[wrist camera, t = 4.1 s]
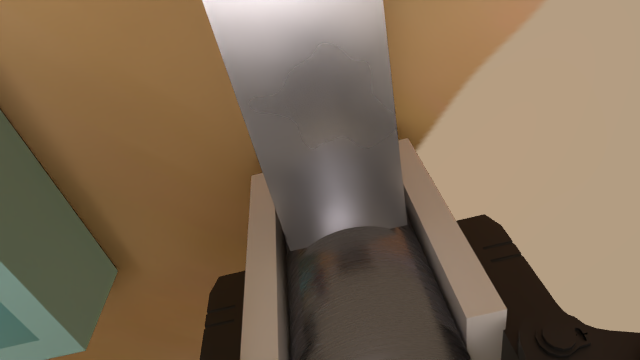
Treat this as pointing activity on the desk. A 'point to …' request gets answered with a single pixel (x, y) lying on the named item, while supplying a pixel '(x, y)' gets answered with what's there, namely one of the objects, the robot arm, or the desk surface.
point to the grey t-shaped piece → (335, 177)
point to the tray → (44, 262)
